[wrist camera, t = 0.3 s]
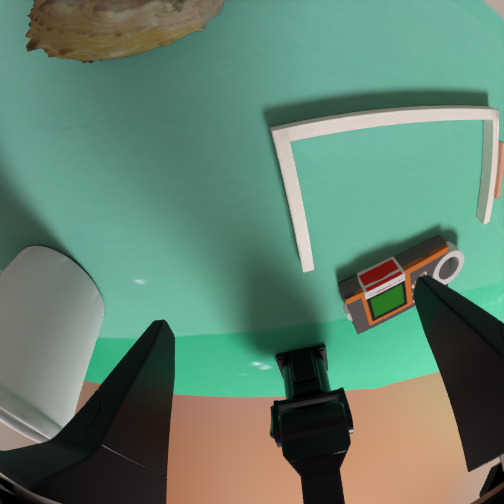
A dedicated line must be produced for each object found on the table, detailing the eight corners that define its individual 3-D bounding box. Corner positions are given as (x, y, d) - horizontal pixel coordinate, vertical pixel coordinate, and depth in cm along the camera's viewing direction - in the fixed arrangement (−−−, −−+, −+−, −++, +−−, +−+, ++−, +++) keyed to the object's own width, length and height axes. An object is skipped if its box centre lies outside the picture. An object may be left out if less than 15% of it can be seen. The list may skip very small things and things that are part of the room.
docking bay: (484, 214, 23) (494, 223, 21) (300, 262, 26) (304, 276, 24) (491, 106, 16) (505, 111, 14) (270, 127, 19) (272, 132, 17)
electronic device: (464, 279, 26) (355, 338, 29) (451, 264, 28) (347, 319, 31) (466, 235, 22) (341, 301, 25) (450, 221, 25) (332, 281, 28)
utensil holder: (110, 345, 33) (79, 462, 19) (24, 310, 30) (-23, 408, 15) (113, 265, 25) (45, 430, 11) (6, 226, 22) (-82, 340, 8)
